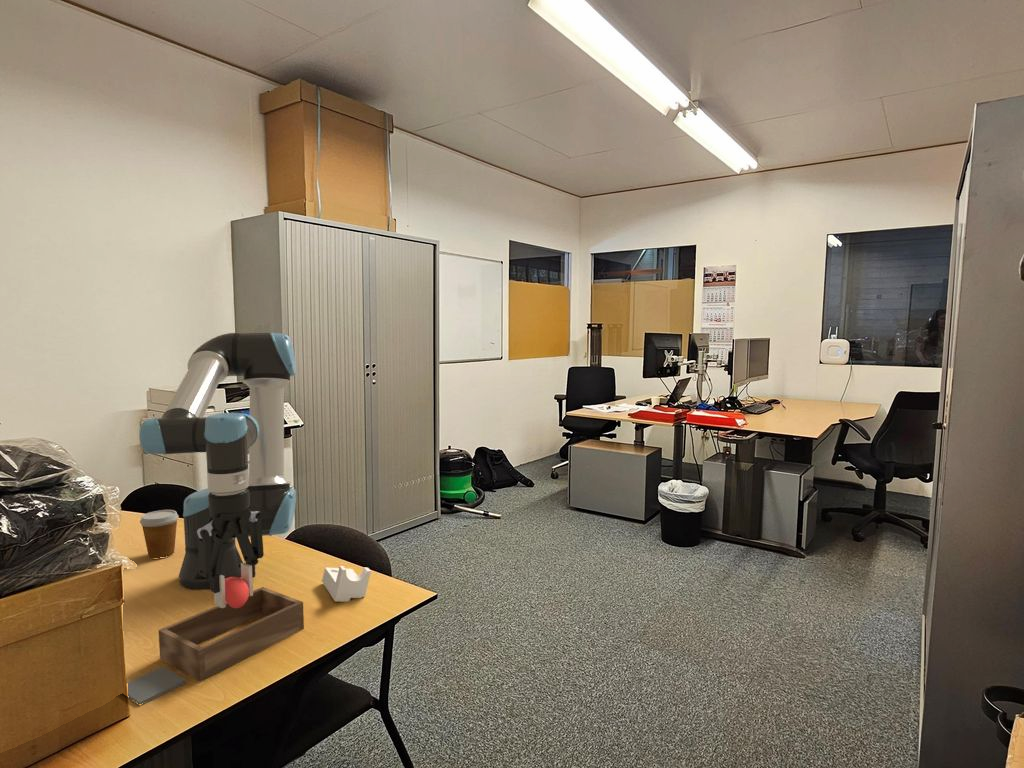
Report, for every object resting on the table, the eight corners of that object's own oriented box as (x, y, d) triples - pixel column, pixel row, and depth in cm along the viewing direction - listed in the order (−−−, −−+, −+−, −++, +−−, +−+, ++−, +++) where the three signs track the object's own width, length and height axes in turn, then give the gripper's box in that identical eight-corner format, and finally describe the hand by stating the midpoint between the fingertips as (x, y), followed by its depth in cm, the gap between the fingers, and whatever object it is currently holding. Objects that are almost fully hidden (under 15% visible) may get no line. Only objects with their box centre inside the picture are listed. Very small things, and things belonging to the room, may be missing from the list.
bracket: (363, 601, 143) (371, 571, 143) (334, 601, 139) (342, 569, 140) (348, 582, 154) (355, 553, 155) (321, 581, 151) (328, 551, 151)
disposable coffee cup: (187, 553, 171) (185, 512, 170) (152, 564, 163) (150, 521, 162) (169, 546, 176) (167, 507, 175) (135, 557, 168) (132, 516, 167)
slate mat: (117, 690, 106) (116, 687, 106) (163, 669, 113) (162, 666, 113) (139, 705, 102) (139, 702, 102) (186, 682, 108) (186, 679, 108)
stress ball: (249, 596, 127) (235, 571, 127) (257, 596, 120) (242, 570, 120) (226, 612, 124) (211, 586, 124) (233, 613, 117) (216, 585, 116)
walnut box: (160, 659, 116) (158, 630, 116) (263, 612, 135) (262, 586, 135) (200, 681, 109) (198, 650, 108) (303, 628, 128) (303, 602, 127)
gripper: (194, 505, 109) (200, 624, 112) (280, 482, 125) (284, 587, 127) (172, 498, 113) (179, 613, 116) (258, 477, 129) (262, 579, 131)
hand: (234, 599), depth 122 cm, fingers closed on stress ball, 5 cm apart
